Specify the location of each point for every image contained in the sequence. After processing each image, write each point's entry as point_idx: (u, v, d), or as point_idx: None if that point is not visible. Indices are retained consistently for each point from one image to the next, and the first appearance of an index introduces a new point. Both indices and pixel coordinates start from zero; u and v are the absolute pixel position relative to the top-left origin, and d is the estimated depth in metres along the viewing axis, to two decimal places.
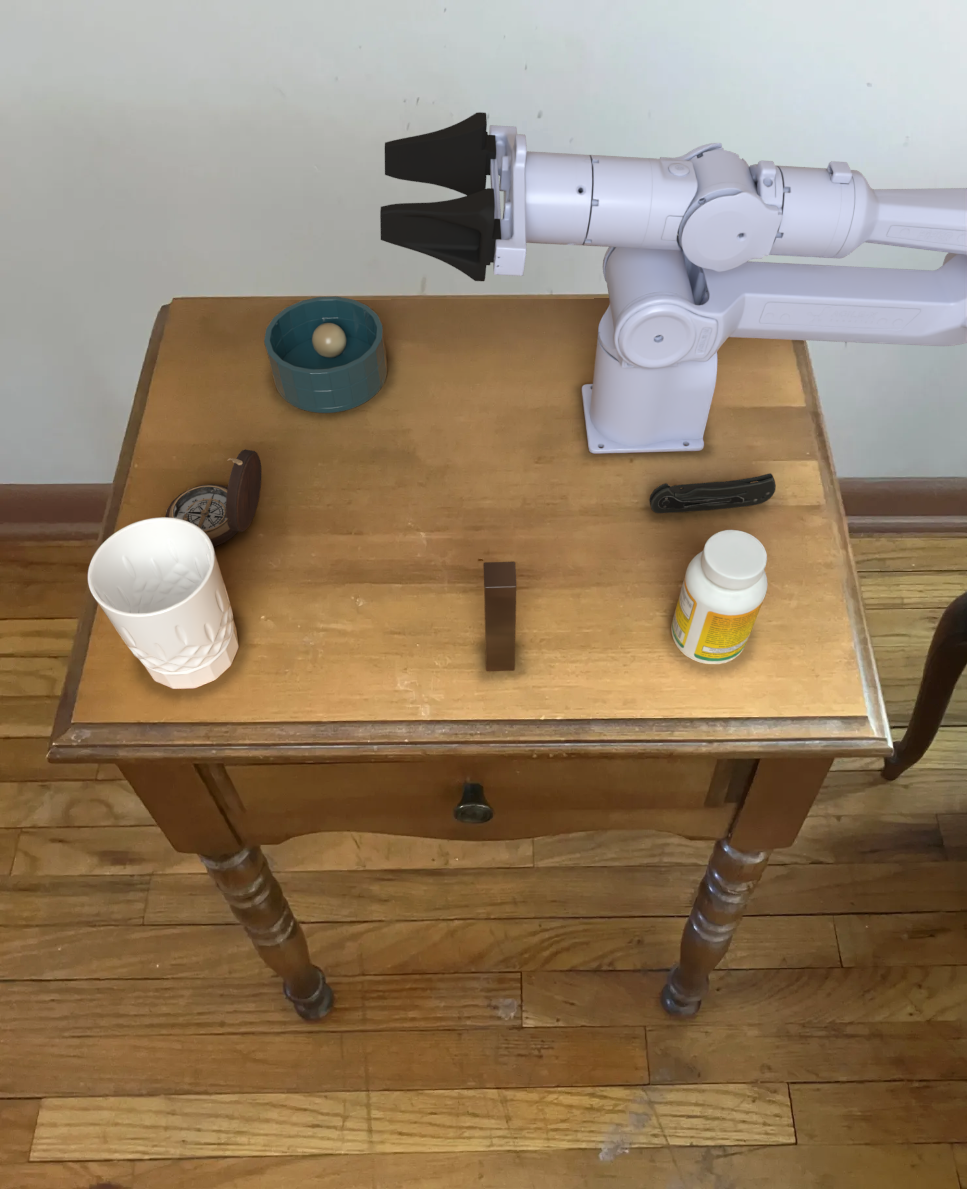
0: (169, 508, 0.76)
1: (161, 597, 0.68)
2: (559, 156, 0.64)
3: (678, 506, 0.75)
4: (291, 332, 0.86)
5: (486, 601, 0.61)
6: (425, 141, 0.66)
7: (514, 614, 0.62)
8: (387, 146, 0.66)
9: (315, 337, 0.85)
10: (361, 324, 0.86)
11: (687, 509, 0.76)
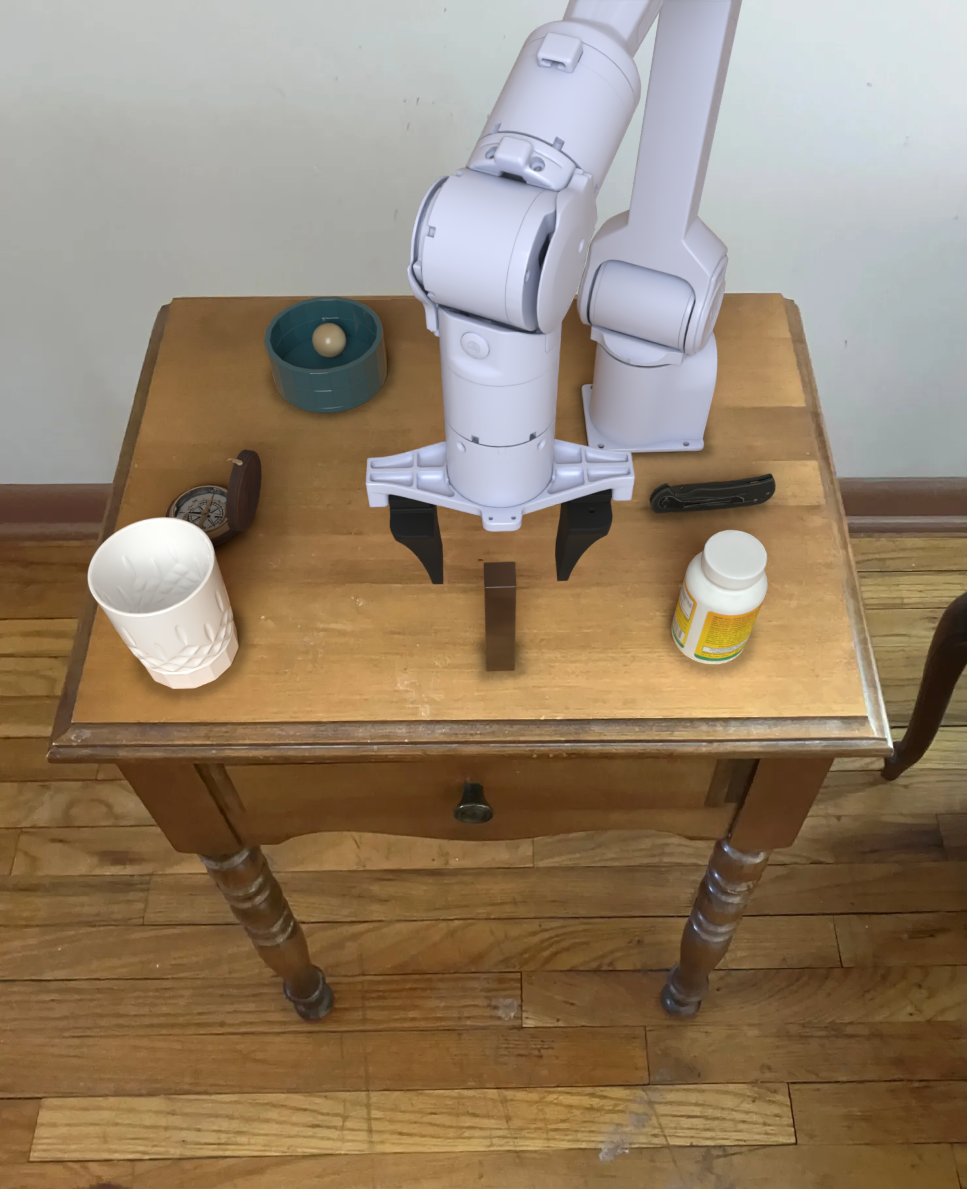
0: (169, 508, 0.76)
1: (161, 597, 0.68)
2: (493, 476, 0.49)
3: (678, 506, 0.75)
4: (291, 332, 0.86)
5: (486, 601, 0.61)
6: (438, 563, 0.57)
7: (514, 614, 0.62)
8: (442, 583, 0.59)
9: (315, 337, 0.85)
10: (361, 324, 0.86)
11: (687, 509, 0.76)
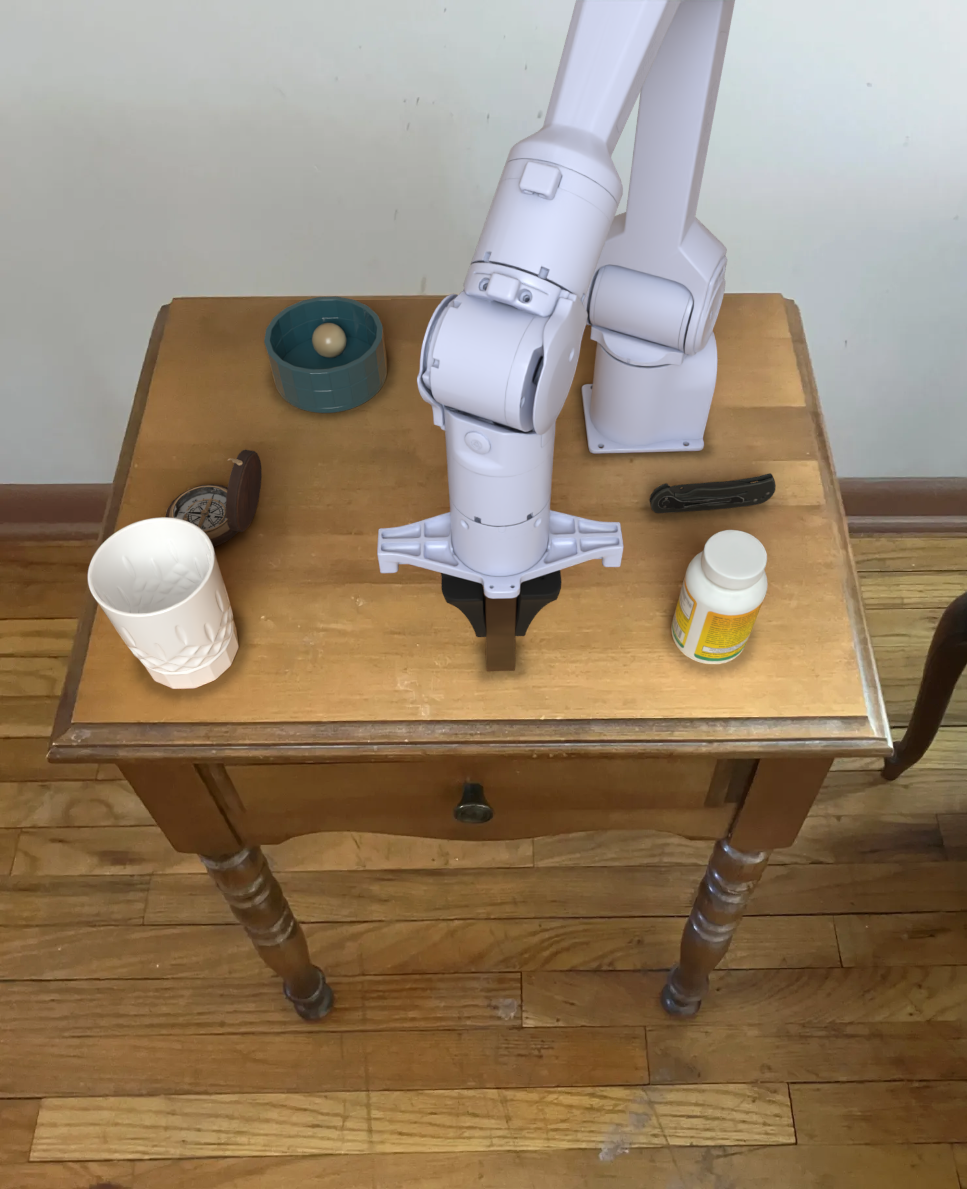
0: (169, 508, 0.76)
1: (161, 597, 0.68)
2: (494, 550, 0.54)
3: (678, 506, 0.75)
4: (291, 332, 0.86)
5: (486, 601, 0.61)
6: (483, 619, 0.62)
7: (514, 614, 0.62)
8: None
9: (315, 337, 0.85)
10: (361, 324, 0.86)
11: (687, 509, 0.76)
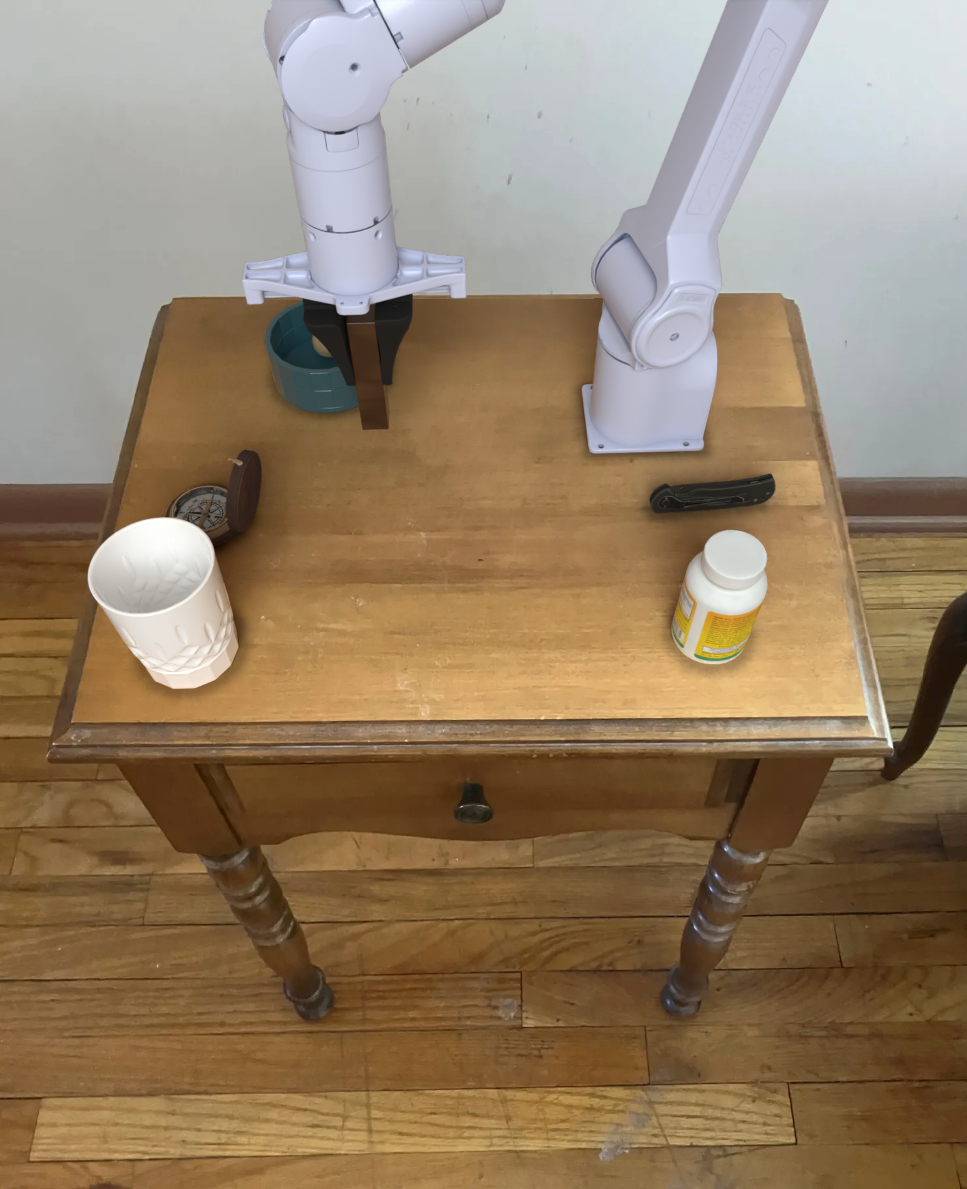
0: (169, 508, 0.76)
1: (161, 597, 0.68)
2: (340, 263, 0.60)
3: (678, 506, 0.75)
4: (291, 332, 0.86)
5: (350, 341, 0.67)
6: (348, 360, 0.68)
7: (378, 357, 0.68)
8: (355, 384, 0.70)
9: (315, 337, 0.85)
10: None
11: (687, 509, 0.76)
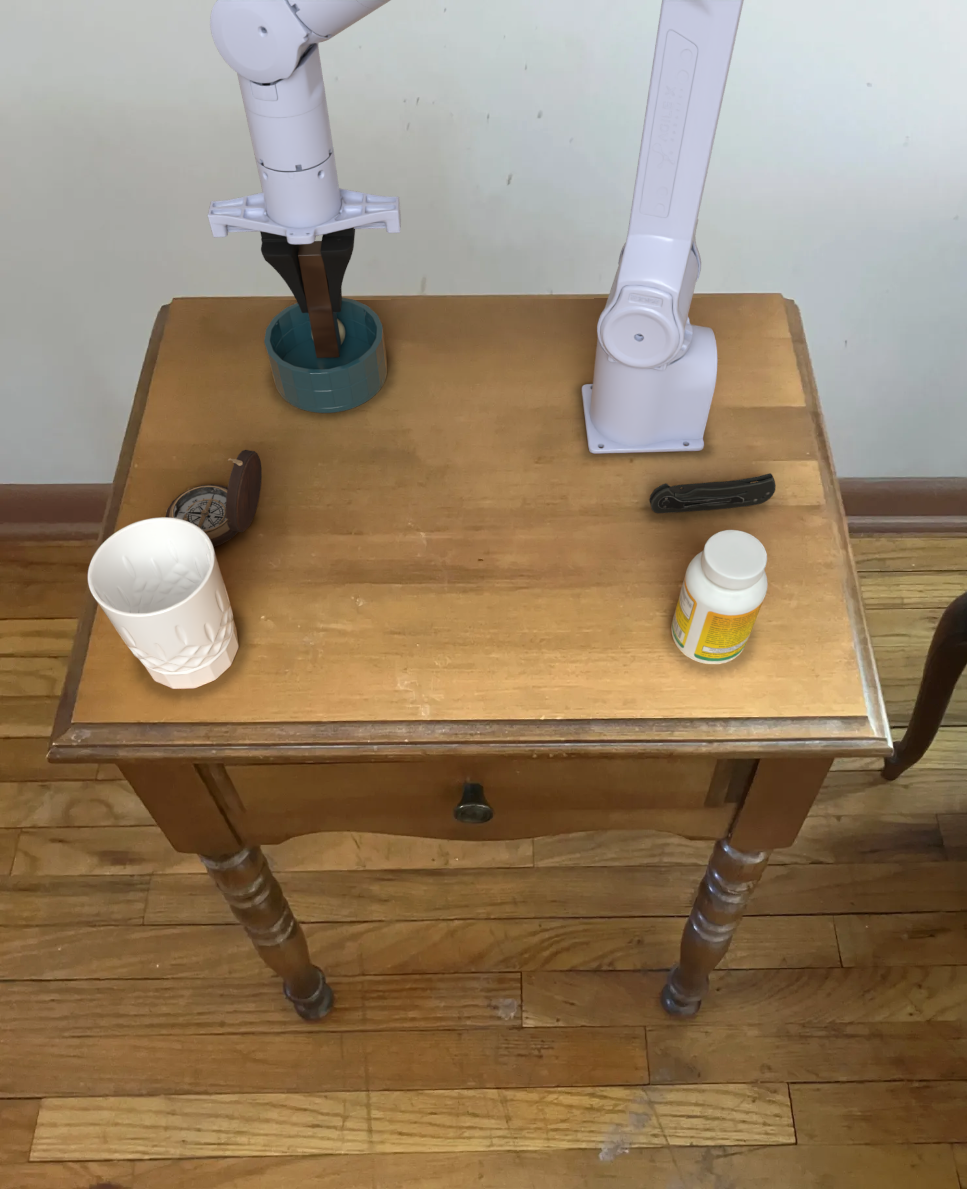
0: (169, 508, 0.76)
1: (161, 597, 0.68)
2: (289, 199, 0.71)
3: (678, 506, 0.75)
4: (291, 332, 0.86)
5: (302, 271, 0.78)
6: (301, 288, 0.78)
7: (327, 287, 0.79)
8: None
9: None
10: (361, 324, 0.86)
11: (687, 509, 0.76)
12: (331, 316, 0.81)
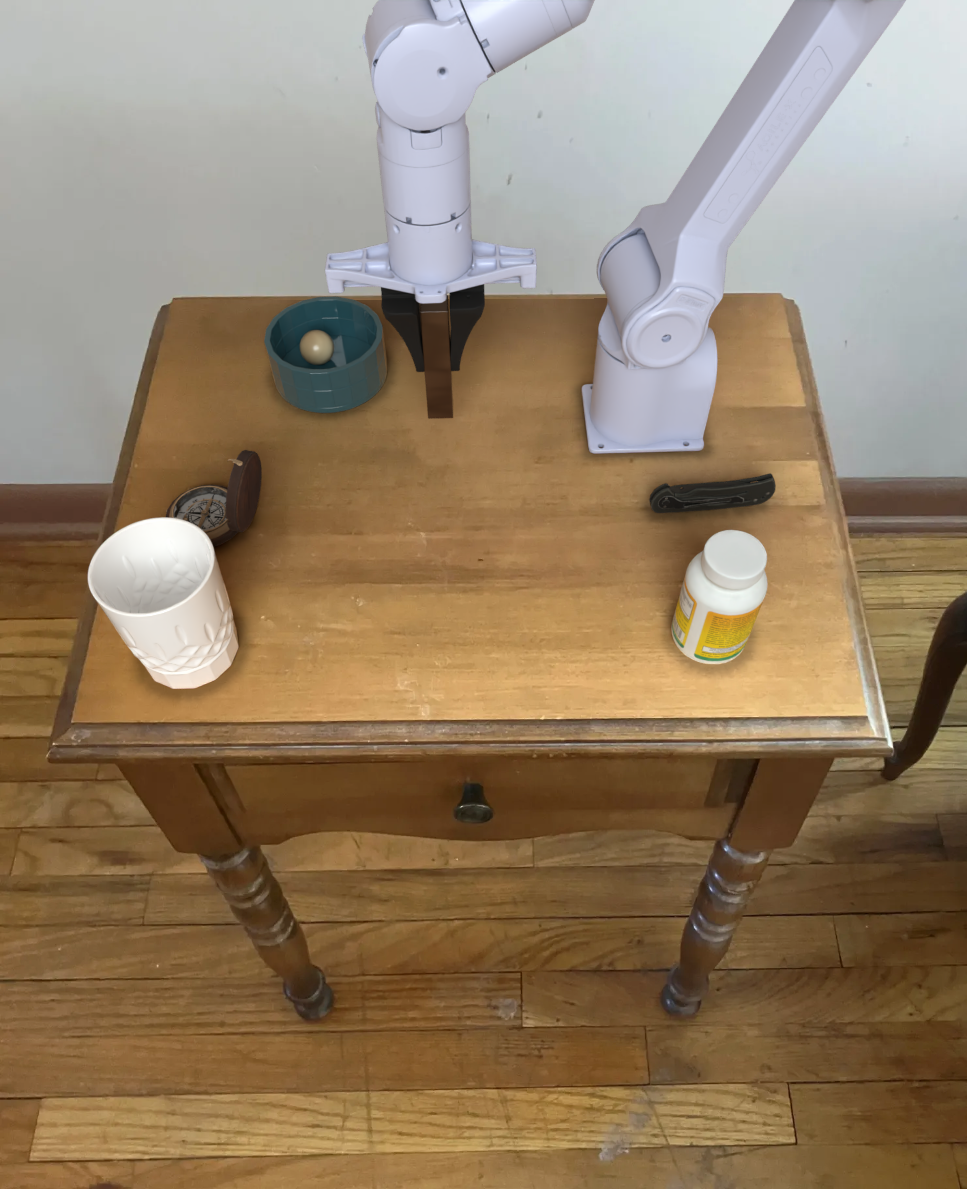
0: (169, 508, 0.76)
1: (161, 597, 0.68)
2: (422, 254, 0.63)
3: (678, 506, 0.75)
4: (291, 332, 0.86)
5: (422, 329, 0.70)
6: (420, 347, 0.71)
7: (448, 346, 0.71)
8: None
9: (301, 351, 0.85)
10: (361, 324, 0.86)
11: (687, 509, 0.76)
12: (449, 375, 0.73)
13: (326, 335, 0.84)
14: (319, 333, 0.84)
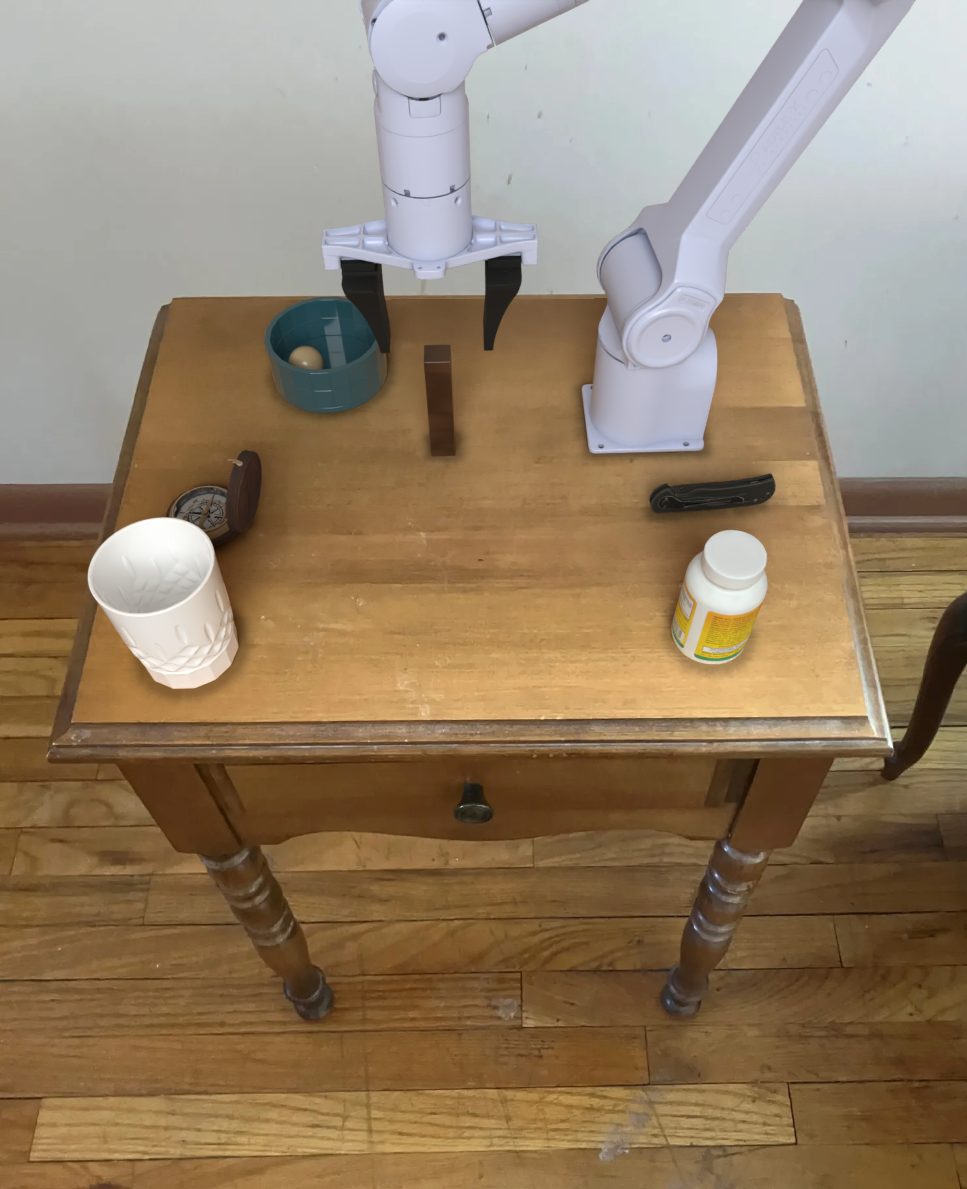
0: (169, 508, 0.76)
1: (161, 597, 0.68)
2: (420, 228, 0.62)
3: (678, 506, 0.75)
4: (291, 332, 0.86)
5: (426, 377, 0.73)
6: (383, 327, 0.70)
7: (450, 392, 0.75)
8: (389, 351, 0.72)
9: None
10: (361, 324, 0.86)
11: (687, 509, 0.76)
12: (451, 418, 0.77)
13: (308, 368, 0.83)
14: None
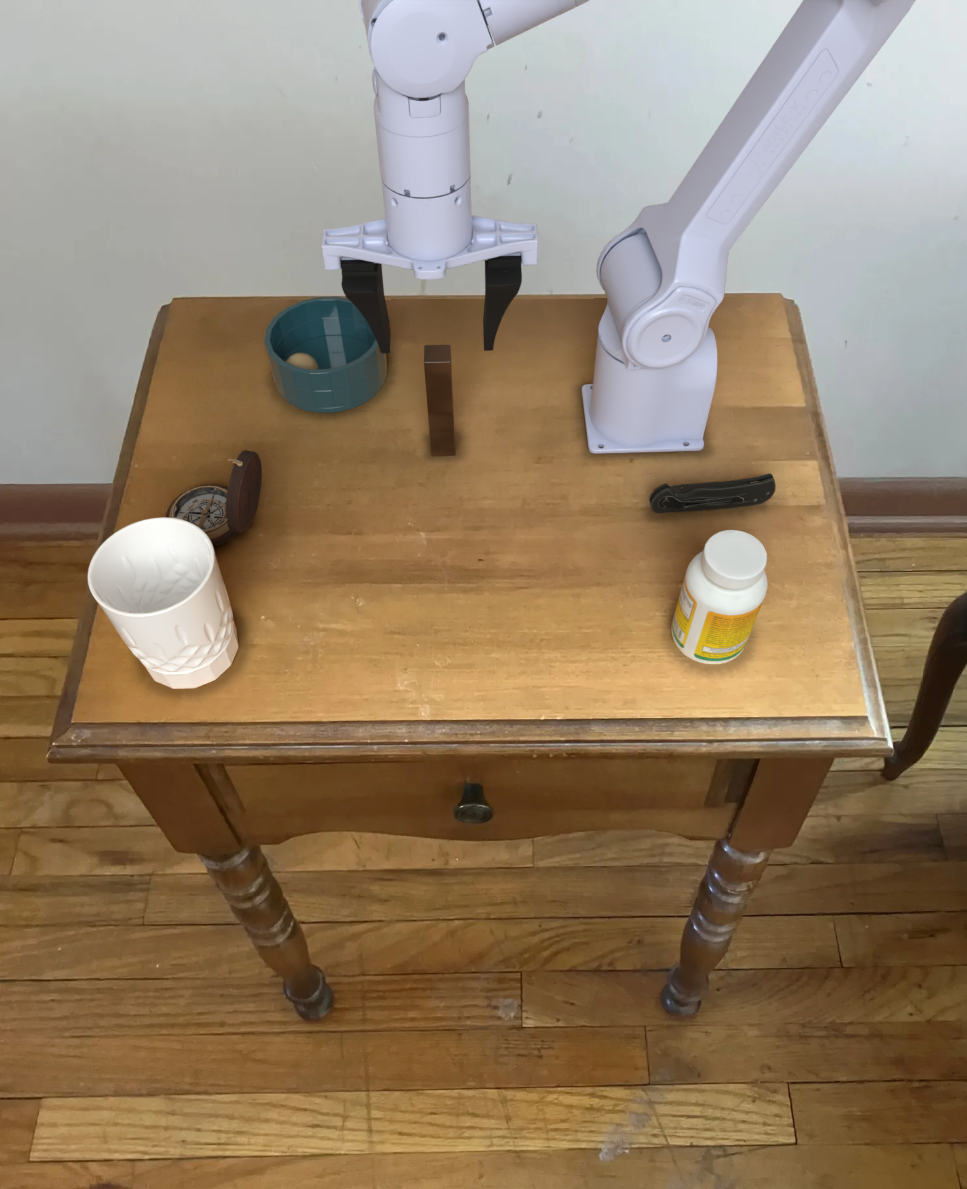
0: (169, 508, 0.76)
1: (161, 597, 0.68)
2: (420, 228, 0.62)
3: (678, 506, 0.75)
4: (291, 332, 0.86)
5: (426, 377, 0.73)
6: (383, 327, 0.70)
7: (451, 392, 0.75)
8: (389, 351, 0.72)
9: None
10: (361, 324, 0.86)
11: (687, 509, 0.76)
12: (452, 418, 0.77)
13: None
14: None
